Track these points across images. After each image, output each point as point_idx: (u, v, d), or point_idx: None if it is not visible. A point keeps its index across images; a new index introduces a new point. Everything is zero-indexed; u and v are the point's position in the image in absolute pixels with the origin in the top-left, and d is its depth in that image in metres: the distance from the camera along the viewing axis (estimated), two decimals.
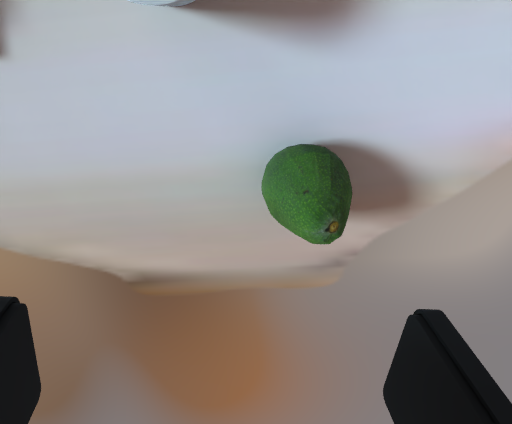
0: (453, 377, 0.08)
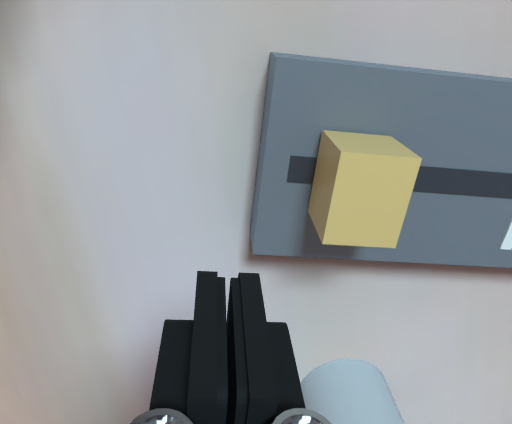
0: (236, 329, 0.09)
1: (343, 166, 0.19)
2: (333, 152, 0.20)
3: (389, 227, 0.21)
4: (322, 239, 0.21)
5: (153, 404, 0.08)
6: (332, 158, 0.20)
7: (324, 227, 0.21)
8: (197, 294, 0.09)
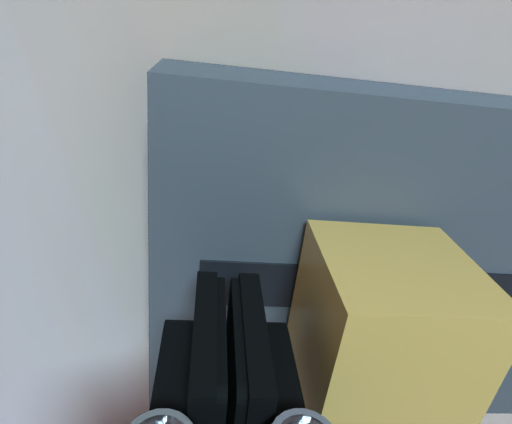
0: (236, 329, 0.09)
1: (352, 342, 0.08)
2: (328, 292, 0.09)
3: None
4: None
5: (153, 404, 0.08)
6: (327, 305, 0.09)
7: None
8: (197, 294, 0.09)
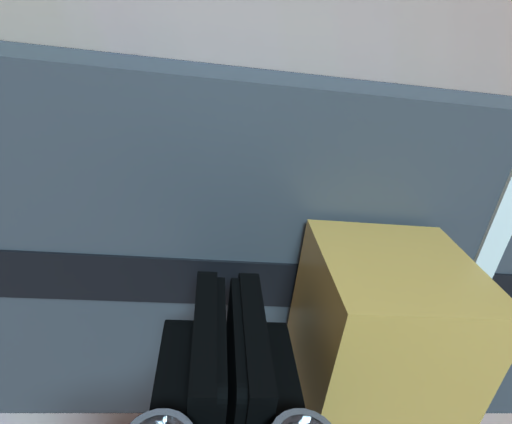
0: (236, 329, 0.09)
1: (351, 342, 0.08)
2: (328, 292, 0.09)
3: None
4: None
5: (153, 404, 0.08)
6: (327, 305, 0.09)
7: None
8: (197, 294, 0.09)
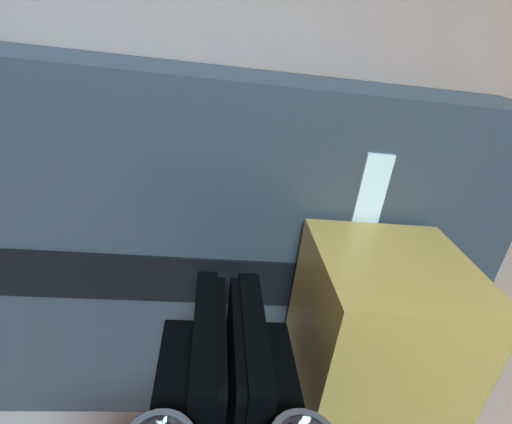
0: (235, 329, 0.09)
1: (348, 340, 0.08)
2: (325, 290, 0.09)
3: None
4: None
5: (153, 404, 0.08)
6: (325, 303, 0.09)
7: None
8: (197, 294, 0.09)
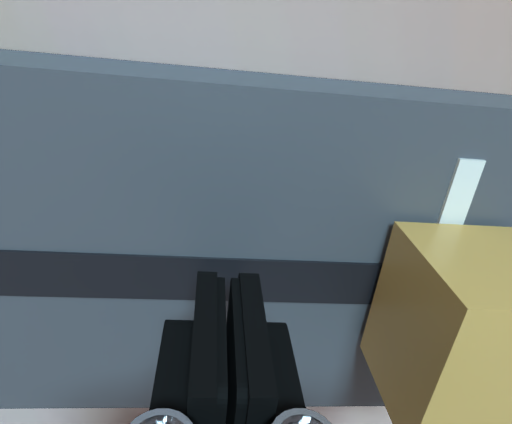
0: (236, 329, 0.09)
1: (467, 335, 0.09)
2: (435, 289, 0.10)
3: None
4: None
5: (153, 404, 0.08)
6: (434, 301, 0.10)
7: None
8: (197, 294, 0.09)
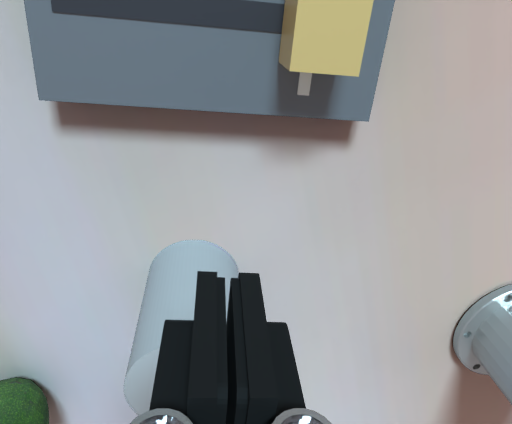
0: (236, 329, 0.09)
1: None
2: None
3: (351, 52, 0.22)
4: (289, 67, 0.22)
5: (153, 404, 0.08)
6: None
7: (290, 53, 0.22)
8: (197, 294, 0.09)
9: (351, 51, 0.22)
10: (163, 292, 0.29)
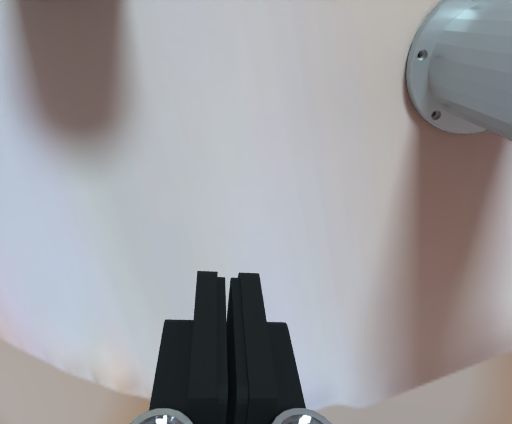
0: (236, 329, 0.09)
1: None
2: None
3: None
4: None
5: (153, 404, 0.08)
6: None
7: None
8: (197, 294, 0.09)
9: None
10: None
